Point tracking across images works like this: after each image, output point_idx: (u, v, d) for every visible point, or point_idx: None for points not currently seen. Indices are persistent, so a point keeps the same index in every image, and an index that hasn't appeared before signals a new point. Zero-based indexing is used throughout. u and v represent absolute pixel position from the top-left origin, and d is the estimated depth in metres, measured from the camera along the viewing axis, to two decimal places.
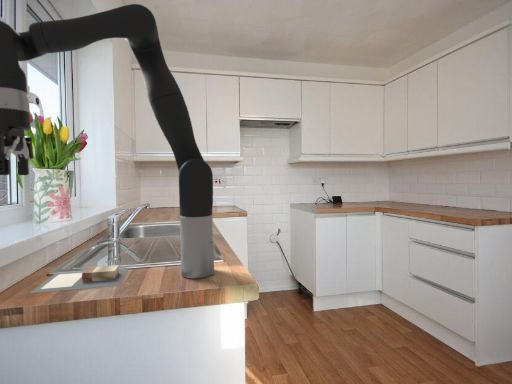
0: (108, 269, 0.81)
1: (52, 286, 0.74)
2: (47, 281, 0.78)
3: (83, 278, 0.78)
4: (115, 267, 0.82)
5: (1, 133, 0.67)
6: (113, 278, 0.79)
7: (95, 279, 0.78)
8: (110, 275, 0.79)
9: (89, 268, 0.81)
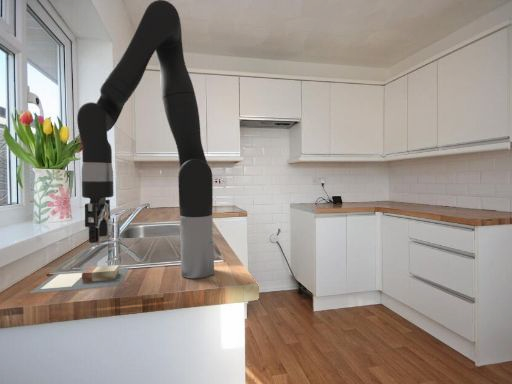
0: (108, 269, 0.81)
1: (52, 286, 0.74)
2: (47, 281, 0.78)
3: (83, 278, 0.78)
4: (115, 267, 0.82)
5: (95, 207, 0.74)
6: (113, 278, 0.79)
7: (95, 279, 0.78)
8: (110, 275, 0.79)
9: (89, 268, 0.81)
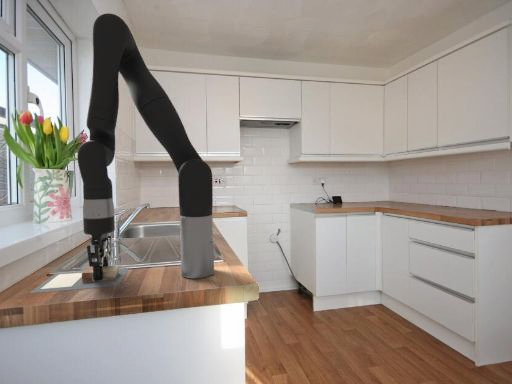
0: (108, 269, 0.81)
1: (52, 286, 0.74)
2: (47, 281, 0.78)
3: (83, 278, 0.78)
4: (115, 267, 0.82)
5: (97, 248, 0.74)
6: (113, 278, 0.79)
7: None
8: (110, 275, 0.79)
9: (89, 268, 0.81)
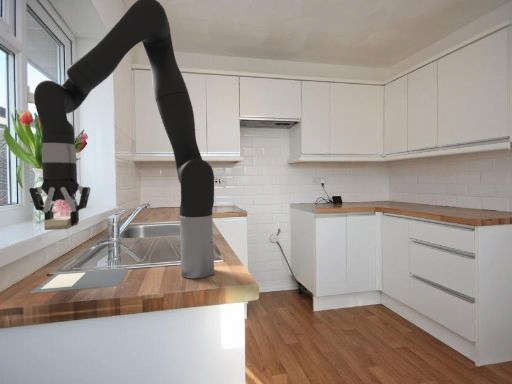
0: (56, 219, 0.76)
1: (52, 286, 0.74)
2: (47, 281, 0.78)
3: None
4: (58, 219, 0.75)
5: (30, 191, 0.75)
6: None
7: None
8: None
9: None
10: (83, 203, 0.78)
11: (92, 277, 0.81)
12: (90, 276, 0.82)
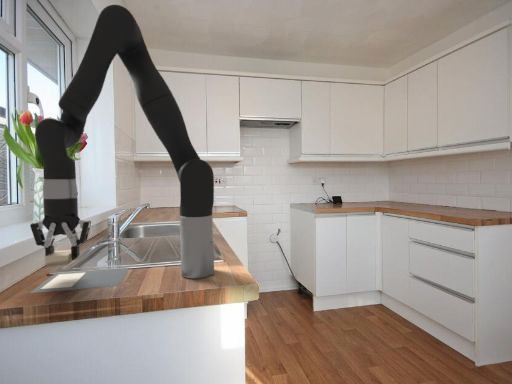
0: (57, 254, 0.76)
1: (52, 286, 0.74)
2: (47, 281, 0.78)
3: None
4: (59, 255, 0.75)
5: (31, 227, 0.75)
6: None
7: None
8: None
9: None
10: (84, 237, 0.78)
11: (92, 277, 0.81)
12: (90, 276, 0.82)
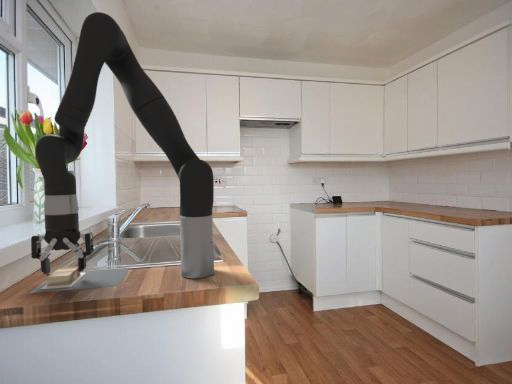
0: (58, 274, 0.77)
1: (52, 286, 0.74)
2: None
3: None
4: (60, 275, 0.75)
5: (32, 239, 0.76)
6: None
7: None
8: None
9: (74, 267, 0.82)
10: (89, 249, 0.79)
11: (92, 277, 0.81)
12: (90, 276, 0.82)
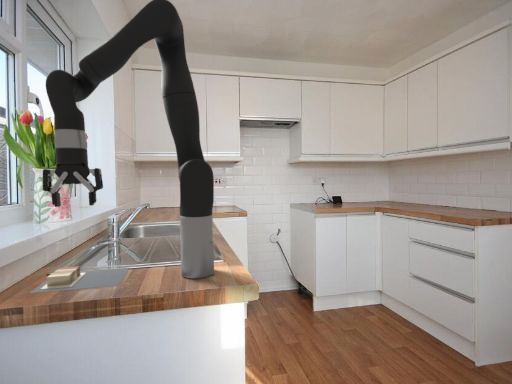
0: (58, 274, 0.77)
1: (52, 286, 0.74)
2: None
3: None
4: (60, 275, 0.75)
5: (43, 172, 0.79)
6: None
7: None
8: None
9: (74, 267, 0.82)
10: (99, 183, 0.82)
11: (92, 277, 0.81)
12: (90, 276, 0.82)
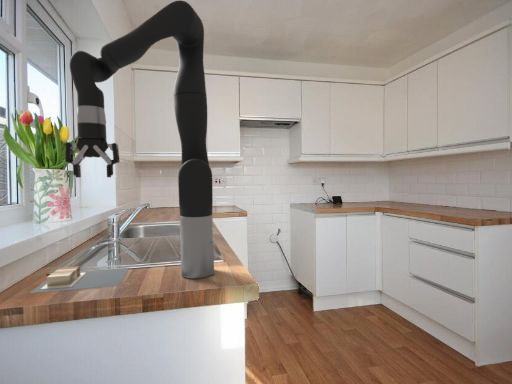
0: (58, 274, 0.77)
1: (52, 286, 0.74)
2: None
3: None
4: (60, 275, 0.75)
5: (66, 145, 0.86)
6: None
7: None
8: None
9: (74, 267, 0.82)
10: (116, 157, 0.89)
11: (92, 277, 0.81)
12: (90, 276, 0.82)
